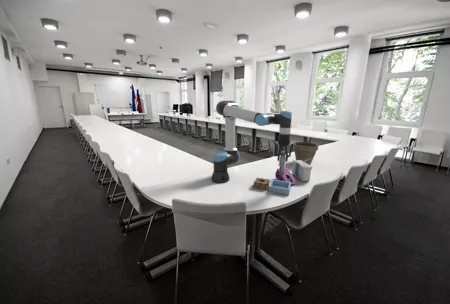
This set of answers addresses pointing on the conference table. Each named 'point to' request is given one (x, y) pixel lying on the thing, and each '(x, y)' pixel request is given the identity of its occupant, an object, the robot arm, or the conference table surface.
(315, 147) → the plant pot
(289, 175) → the mounting bracket
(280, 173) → the steel pin
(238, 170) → the conference table surface
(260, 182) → the block
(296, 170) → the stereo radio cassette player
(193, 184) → the conference table surface
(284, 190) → the parts tray
